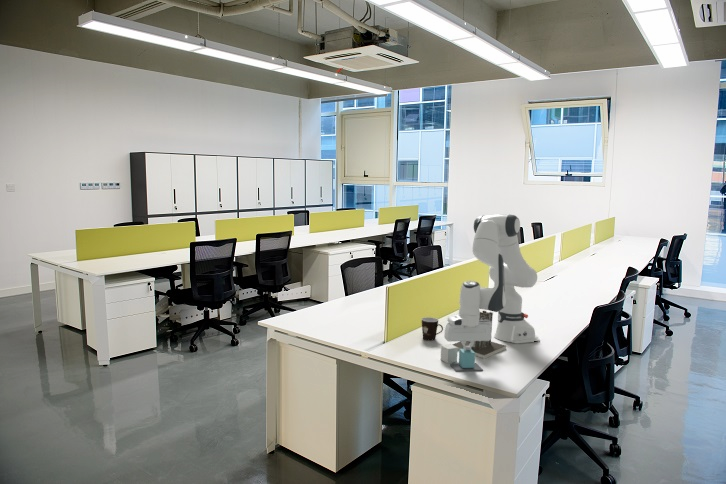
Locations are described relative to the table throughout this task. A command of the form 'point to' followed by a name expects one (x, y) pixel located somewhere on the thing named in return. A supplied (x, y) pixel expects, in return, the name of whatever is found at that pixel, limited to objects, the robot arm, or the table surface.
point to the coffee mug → (430, 328)
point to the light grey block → (449, 353)
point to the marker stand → (459, 369)
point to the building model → (483, 342)
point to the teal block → (466, 358)
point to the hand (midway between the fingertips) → (467, 350)
